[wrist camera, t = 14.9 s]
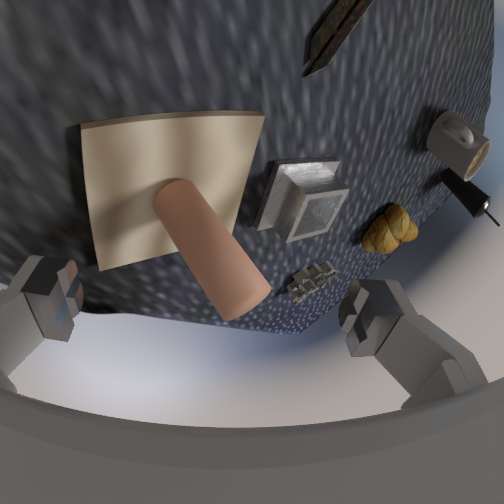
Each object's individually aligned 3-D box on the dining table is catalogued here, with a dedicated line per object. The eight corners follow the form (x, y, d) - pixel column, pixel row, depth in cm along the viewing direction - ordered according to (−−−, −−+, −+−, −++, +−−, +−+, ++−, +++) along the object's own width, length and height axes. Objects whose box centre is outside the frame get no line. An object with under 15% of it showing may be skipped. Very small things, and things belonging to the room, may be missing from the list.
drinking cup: (456, 166, 67) (507, 216, 57) (441, 187, 71) (490, 237, 61) (452, 159, 62) (508, 213, 51) (436, 182, 66) (490, 236, 55)
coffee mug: (452, 131, 51) (486, 160, 46) (426, 158, 53) (461, 189, 48) (454, 89, 39) (497, 120, 34) (425, 117, 41) (470, 152, 36)
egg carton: (281, 290, 62) (292, 306, 60) (298, 265, 57) (310, 282, 55) (316, 280, 68) (326, 294, 66) (332, 257, 63) (344, 271, 61)
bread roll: (359, 247, 67) (381, 272, 63) (354, 231, 59) (379, 259, 55) (398, 212, 65) (421, 236, 61) (398, 192, 57) (424, 218, 53)
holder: (253, 225, 40) (273, 252, 37) (274, 160, 33) (301, 186, 30) (309, 213, 45) (330, 236, 42) (334, 157, 38) (360, 179, 35)
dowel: (151, 220, 28) (217, 327, 23) (155, 185, 24) (232, 302, 20) (190, 208, 30) (259, 305, 26) (199, 175, 27) (279, 278, 23)
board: (97, 263, 30) (99, 271, 29) (80, 123, 18) (81, 129, 18) (226, 231, 38) (230, 238, 37) (258, 110, 26) (265, 116, 26)
